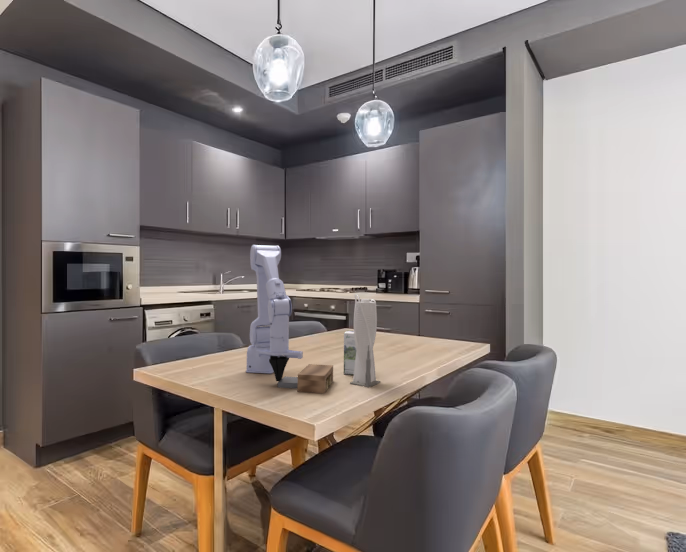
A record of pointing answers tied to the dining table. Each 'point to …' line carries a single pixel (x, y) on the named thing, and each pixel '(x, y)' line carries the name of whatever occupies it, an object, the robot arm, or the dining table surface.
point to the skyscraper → (365, 342)
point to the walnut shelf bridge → (315, 378)
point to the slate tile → (288, 382)
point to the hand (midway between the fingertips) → (279, 380)
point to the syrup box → (349, 352)
